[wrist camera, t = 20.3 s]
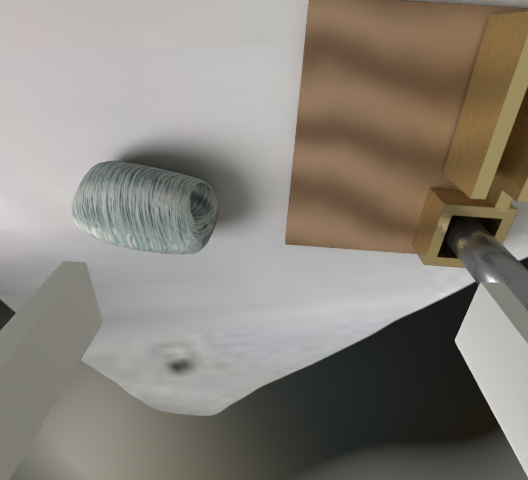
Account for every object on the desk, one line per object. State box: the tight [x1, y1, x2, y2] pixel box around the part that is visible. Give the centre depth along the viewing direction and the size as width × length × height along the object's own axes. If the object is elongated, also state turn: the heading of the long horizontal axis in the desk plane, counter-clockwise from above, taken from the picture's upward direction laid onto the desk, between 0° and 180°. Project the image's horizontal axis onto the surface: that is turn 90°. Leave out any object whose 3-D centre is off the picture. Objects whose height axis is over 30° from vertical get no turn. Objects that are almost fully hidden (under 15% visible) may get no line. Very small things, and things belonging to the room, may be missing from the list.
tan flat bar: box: [443, 12, 528, 199], centre depth 29 cm, size 13×1×6 cm, turn 178°
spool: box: [72, 161, 218, 254], centre depth 35 cm, size 14×10×10 cm
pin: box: [444, 215, 528, 311], centre depth 32 cm, size 3×3×13 cm
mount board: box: [285, 0, 528, 254], centre depth 34 cm, size 23×22×1 cm
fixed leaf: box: [412, 87, 528, 268], centre depth 31 cm, size 21×7×6 cm, turn 177°
